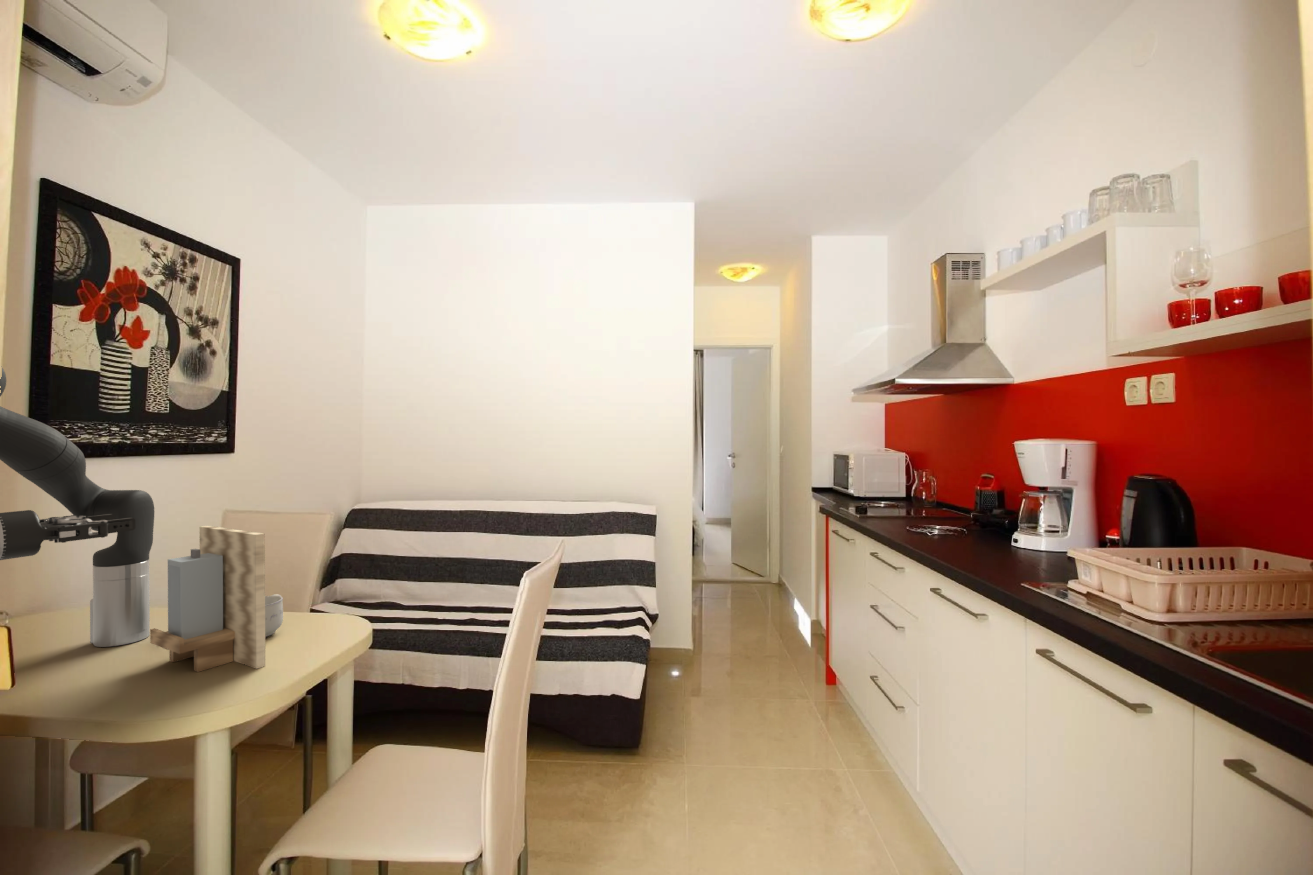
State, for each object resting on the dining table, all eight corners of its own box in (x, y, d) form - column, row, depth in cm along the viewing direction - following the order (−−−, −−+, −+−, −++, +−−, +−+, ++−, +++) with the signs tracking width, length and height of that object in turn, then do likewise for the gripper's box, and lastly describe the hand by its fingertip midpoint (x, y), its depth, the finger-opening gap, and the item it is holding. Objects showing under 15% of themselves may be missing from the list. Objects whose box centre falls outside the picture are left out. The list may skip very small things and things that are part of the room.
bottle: (167, 635, 114) (167, 551, 114) (209, 625, 120) (208, 545, 120) (181, 640, 111) (180, 553, 111) (223, 629, 118) (222, 547, 117)
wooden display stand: (145, 663, 115) (145, 533, 115) (208, 646, 125) (208, 525, 125) (201, 686, 105) (200, 542, 105) (265, 665, 114) (264, 533, 114)
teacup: (254, 646, 125) (253, 609, 125) (212, 643, 127) (212, 606, 127) (305, 625, 138) (305, 592, 138) (267, 623, 140) (266, 590, 140)
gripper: (7, 517, 88) (141, 503, 103) (-23, 510, 95) (107, 498, 109) (9, 566, 89) (142, 546, 103) (-21, 555, 95) (108, 538, 110)
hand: (124, 521), depth 106 cm, fingers open, 8 cm apart
